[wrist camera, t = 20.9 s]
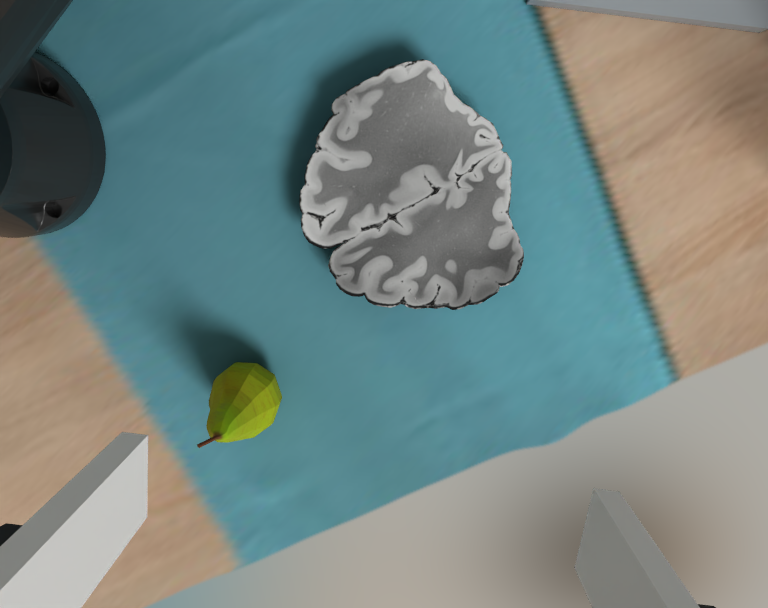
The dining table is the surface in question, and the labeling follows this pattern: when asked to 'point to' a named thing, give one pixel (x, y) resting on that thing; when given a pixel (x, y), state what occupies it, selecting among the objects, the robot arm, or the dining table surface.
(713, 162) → the dining table surface
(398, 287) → the brain slice
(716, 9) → the pin tray
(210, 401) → the fruit
